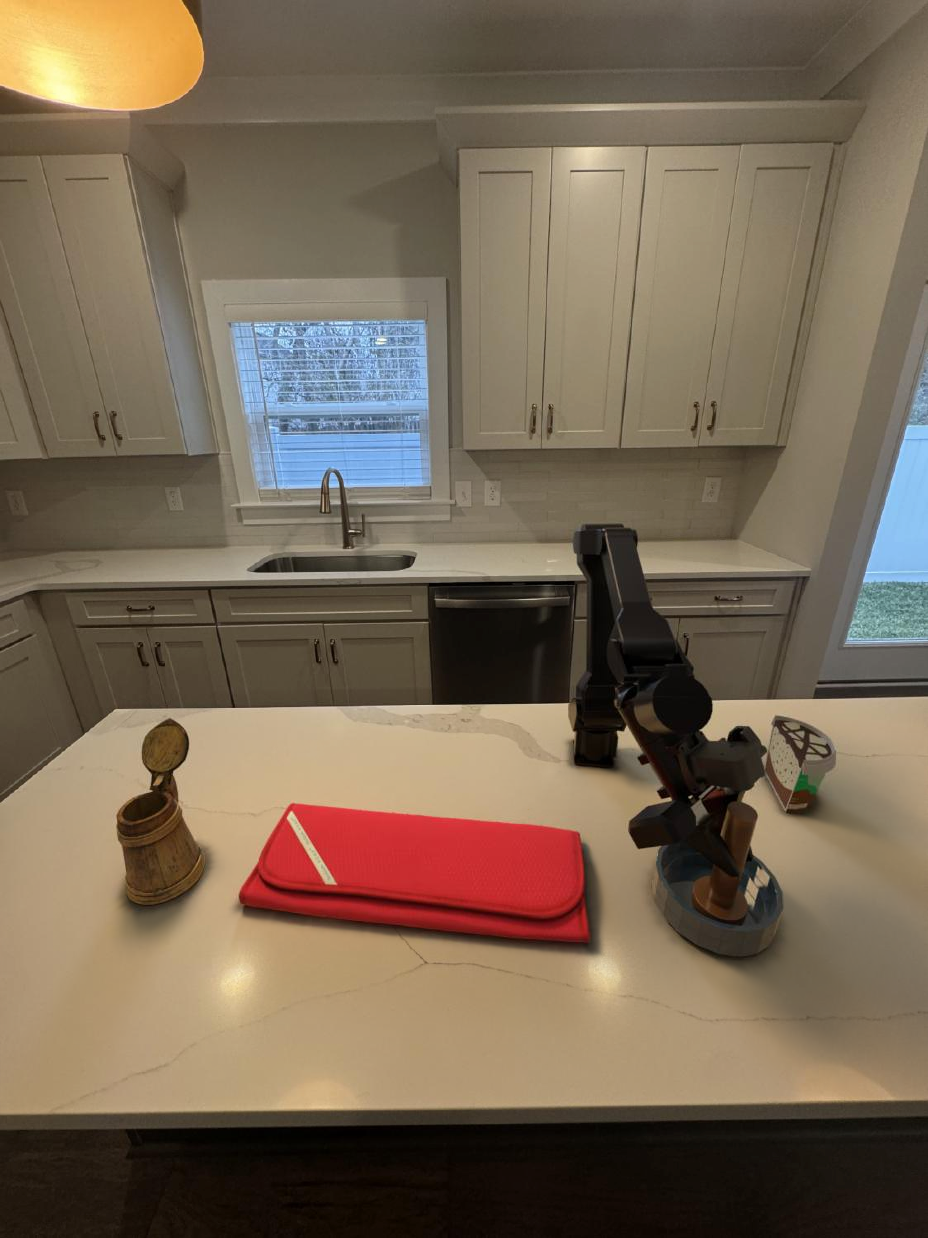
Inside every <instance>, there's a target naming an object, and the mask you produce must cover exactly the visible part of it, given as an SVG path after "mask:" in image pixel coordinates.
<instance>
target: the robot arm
mask: <svg viewBox="0 0 928 1238" xmlns="http://www.w3.org/2000/svg"><path fill="white" fill-rule="evenodd" d="M638 543H639V537H638V532H637V529H635V528H634V529H633V528H631V527H625V525H624V524H623V523H622V522H621V523H615V522H614V523H582V524H581V527H580V529H579V530H574V532H573V536H572V550H573V554H575V555H576V565H577V567H578V569H579V570H580V572H581V573H582V575H583V576H584V578H585V580H586V634H585V635H586V637H585V638H586V640H585V641H586V645H585V647H586V649H585V650H586V653H585V655H586V656H585V657H586V658H585V659H586V660H585V661H586V662H585V671H584V673H583V674H582V676H581V677H580V678H579V680H578V682H577V684H576V685H575V696H574V697H573V698H572V699H571V700H570V702H569V703H568V705H567V717H568V720H569V725H570V728H571V730H572V732H573V733H574V738H573V739H572V756H573V764H574V765H578V766H587V767H588V766H589V767H601V768H609V769H612V768H614V767H615V762H614V761H615V760H614V759H616V758H617V754H618V746H619V745H618V743H619V734H618V732H626V731H625V730H626V728H628V730H629V731H630V733H631V735H632V737H633V738H634V740H635V742H636V744H637V745H638V747H639V749H640V751H641V752H642V753H640V755H638V756H637V757H636V759H637V760H638V762H639V764H640V765H641V766H645V765H648V764H649V765H650V767H651V769H652V771H653V772H654V774H655V776H656V777H657V779H658V781H659V783H660V784H661V786H660V787H659V788H658V789H656V793H657V795H658V796H659V798H660V799H661V800H664V799H669V798H670V800H669V801H663V802H659V803H655V804H651V805H647V806H645V808H643V809H642V810H640V811H639V813H637V814H636V815H634V816H633V817H632V818H631V819H629V821H628V828H627V832H628V834H629V836H630V837H631V839H632V841H633V843H634V845H635V848H636V849H637V850H644V849H650V848H651V849H652V848H658V847H661V846H666V845H673V844H677V843H679V842H681V841H683V842H684V843H686V844H687V845H689V846H690V847H692V848H693V849H695V850H696V851H697V852H699V853H700V854H701V855H703V856H704V857H705V858H707V859H708V860H709V861H710V862H712V863H713V864H714V865H716V866H717V867H718V868H719V869H721V870H722V871H723V872H725V873H726V874H727V875H728V876H730V877H739V876H740V872H739V870H738V867H737V865H736V863H735V861H734V859H733V857H732V855H731V853H730V851H729V849H728V848H727V846H726V844H725V842H724V840H723V838H722V836H721V831H722V827H723V823H724V819H725V814H726V810H727V806H728V804H729V803H731V802H735V801H737V802H743V799H744V796H745V793H746V792H747V791H750V790H752V788H754V787H755V784H756V782H758V781H759V779H761V778H764V777H765V776H766V773H765V769H764V768H765V764H764V762H763V757H764V756H765V755H767V752H768V747H766V746H765V745H763V744H762V740H761V739H760V738H759V737H758V735H757V734H756V733H755V732H754V730H753V729H752V727H750V726H749V725H736V726H734V727H733V728H732V729H731V730H730V731H728V734H727V738H726V737H721V738H720V739H718V740H709V739H708V737H706V735H705V733H704V732H703V731H702V730H703V729H704V728H705V727H706V726H707V725H708V724H709V722H710V720H711V718H712V715H713V711H714V710H713V709H714V703H713V699H712V697H711V696H710V694H709V692H708V689H707V688H706V687H705V686H704V685H703V683H701V681H699V680H698V679H696V678H695V674H694V669H695V667H694V666H693V664H692V663H691V662H690V660H689V659H688V658H687V656H686V654H685V652H684V651H683V649H682V647H681V645H680V643H679V641H678V640H677V639H676V637H675V635H674V633H673V630H672V628H671V625H670V622H669V621H668V619H667V618H666V617H664V616H662V615H661V614H660V613H659V612H658V611H657V610H655V609H654V606H653V603H652V601H651V596H650V593H649V589H648V586H647V582H646V577H645V574H644V570H643V567H642V563H641V559H640V555H639V552H638V551H639V550H638ZM753 855H754V853H753V849H752V846H751V844H750V847H749V851H748V855H747V858H746V862H750V861H753V859H754V857H753Z"/></svg>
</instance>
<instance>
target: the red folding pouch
mask: <svg viewBox="0 0 928 1238" xmlns="http://www.w3.org/2000/svg"><path fill="white" fill-rule="evenodd" d="M585 878H586V877H585V863H584V853H583V845H582V838H581V833H580V832H579V831H577V830H571V829H565V828H558V827H552V826H548V825H547V826H546V825H538V824H528V823H517V822H516V823H515V822H514V823H513V822H503V821H492V820H479V819H469V818H458V817H443V816H432V815H425V814H424V815H422V814H410V813H398V812H388V811H387V812H386V811H376V810H367V809H366V810H365V809H357V808H356V809H355V808H347V807H340V806H339V807H337V806H327V805H316V804H306V803H295V802H291V803H290V804H288V806H287V807H286V809H285V810H284V812H283V813H282V816H281V817H280V819H279V820H278V822H277V823H276V825H275V827H274V828H273V830H272V831H271V833H270V835H269V837H268V838H267V840H266V842H265V844H264V846H263V848H262V850H261V852H260V855H259V857H258V862H257V863H256V864H255V866H254V868H253V869H252V871H251V872H250V873H249V876H248V877H247V878H246V880H245V881H244V883H243V885H242V886H241V888H240V890H239V892H238V901H239V903H240V904H241V905H244V906H248V907H252V908H259V909H260V908H262V909H268V910H273V911H281V912H287V913H288V912H289V913H295V914H299V915H306V916H313V917H314V916H316V917H324V918H332V919H340V920H349V921H355V922H363V923H379V924H388V925H396V926H403V927H410V928H411V927H412V928H418V929H419V928H420V929H429V930H439V931H445V932H455V933H463V934H464V933H465V934H475V935H485V936H486V935H487V936H495V937H502V938H512V939H526V940H527V939H528V940H542V941H558V942H569V943H585V944H589V943H590V941H591V934H590V927H589V918H588V913H587V905H586V896H585V886H586V885H585V884H586V883H585V881H586V879H585Z"/></svg>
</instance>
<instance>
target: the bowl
mask: <svg viewBox="0 0 928 1238" xmlns="http://www.w3.org/2000/svg"><path fill="white" fill-rule="evenodd" d="M753 857H754V859H753V861H750V862H745V866H744V869H743V873H742V876H741V880H740V884H739V887H738V889H739V890H740V891H741V892H742V893H743V894H744V896H745V898H746V900H747V903H748V912H747V916H746V919H745V922H744V923H743V925H741V926H736V925H729V924H723V923H720V922H718V921H715V920H712V919H710V918H707V917H705V916H703V915H701V914H700V913H698V912H697V911H696V910H695V908H694V906H693V903H692V899H691V896H692V891H693V887H694V884H695V882H696V881H697V880H698V879H699V878H701V877H704V876H711V872H712V868H713V863H712V862H710V861H709V860H708V859H707V858H705V857H704V856H703V855H701V854H700V853H699V852H697V851H696V850H695V849H693V848H692V847H690V846H689V845H687V844H686V843H684V842H683V841H681V842H679V843H677V844H673V845H666V846H659V848H658V850H657V853H656V859H655V861H654V862H655V864H654V870H653V875H652V880H651V889H652V895H653V899H654V900H653V901H654V902H655V904H656V906H657V908H658V910H659V911H660V914H661V915H662V917H663V918H664V919H665V921H667V922H668V923H669V924H670V925H671V927H673V929H675V931H676V932H677V933H679V934H680V935H681V936H683V937H684V938H686V939H687V940H689V941H690V942H692V943H693V944H694V945H696V946H697V947H700V948H703V949H705V950H707V951H711V952H713V953H715V954H718V955H723V956H731V957H737V958H738V957H739V958H740V957H741V958H742V957H746V956H754V955H757V954H759V953H760V952H762V951H763V950H765V949H767V948H768V947H769V946H770V945H771V944H772V942H773V939H774V937H775V935H776V933H777V930H778V928H779V924H780V920H781V918H782V915H783V911H784V894H783V890H782V888H781V886H780V884H779V882H778V880H777V878H776V876H775V875H774V874H773V872H772V871H771V870H770V869H769V868H768V867H767V865H766V864H765V863H764V861H762V860H760V858H758V857H757V856H755V855H754V854H753Z"/></svg>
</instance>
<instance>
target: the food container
mask: <svg viewBox="0 0 928 1238" xmlns="http://www.w3.org/2000/svg"><path fill="white" fill-rule="evenodd" d="M770 725H771V726H772V727H771V733H770V738H769V743H768V747H767V753H766V758H765V763H764V769H765V773H766V775H765V776H766V778H767V780H768V782H769V783H770V786H771V787H772V789H773V792H774V793H775V795H776V797H777V799H778V801H779V803H780V805H781V807H782V809H783V810H784V812H785V813H787V814H788V813H789V814H795V813H796V814H797V813H802V812H805V811H807V810H808V809H810V808H811V806H812V804H813V802H814V799H815V798H816V795H817V793H818V791H819V788H820V786H821V784H822V783H823V780H824V778H825V775H826V774H827V773H830V772H831V771H833V770H834V768H835V767H836V765H837V751H836V747H835V744H834V742H833V741H832V739H831V738H830V737H829V736H828V735H827V734H826V733H824V732H823V731H822V730H821V729H819V728H817V727H815V726H814V725H811V724H809V723H807V722H805V721H802V720H799V719H797V718H793V717H788V716H783V715H778V714H777V715H776V714H775V715H774V717H772V721H771V724H770Z"/></svg>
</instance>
